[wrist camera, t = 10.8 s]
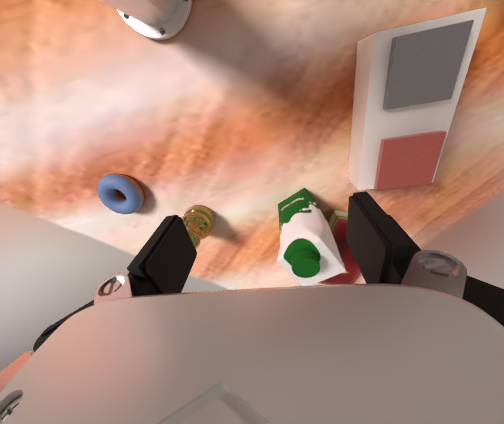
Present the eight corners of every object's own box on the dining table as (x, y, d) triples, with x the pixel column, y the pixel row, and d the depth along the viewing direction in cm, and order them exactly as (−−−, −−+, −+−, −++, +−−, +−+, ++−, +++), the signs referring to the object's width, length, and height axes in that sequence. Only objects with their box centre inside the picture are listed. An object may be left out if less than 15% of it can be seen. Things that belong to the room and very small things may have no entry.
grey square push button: (374, 45, 30) (396, 36, 24) (435, 32, 28) (474, 19, 23) (367, 106, 34) (385, 109, 28) (421, 96, 33) (451, 99, 27)
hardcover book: (384, 216, 46) (393, 227, 43) (346, 277, 57) (351, 290, 54) (333, 206, 46) (337, 216, 42) (305, 269, 57) (307, 281, 54)
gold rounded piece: (212, 203, 48) (199, 229, 40) (217, 229, 52) (207, 257, 44) (183, 204, 49) (164, 229, 41) (190, 229, 53) (174, 256, 44)
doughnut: (112, 161, 45) (98, 171, 41) (154, 189, 48) (144, 200, 44) (101, 189, 50) (87, 199, 46) (139, 212, 53) (129, 223, 50)
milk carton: (305, 182, 43) (326, 244, 26) (327, 211, 46) (357, 284, 29) (272, 203, 47) (271, 270, 30) (294, 229, 50) (304, 303, 33)
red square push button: (367, 132, 35) (384, 140, 30) (418, 124, 34) (446, 131, 28) (362, 175, 39) (376, 190, 34) (408, 169, 38) (430, 184, 32)
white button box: (357, 41, 30) (374, 32, 25) (449, 21, 28) (487, 7, 23) (347, 177, 42) (357, 190, 37) (412, 169, 40) (433, 182, 35)
